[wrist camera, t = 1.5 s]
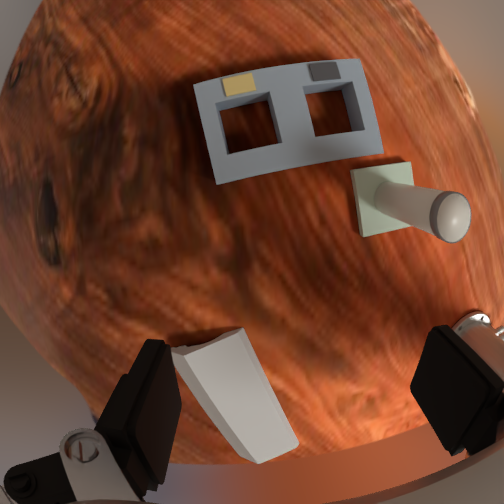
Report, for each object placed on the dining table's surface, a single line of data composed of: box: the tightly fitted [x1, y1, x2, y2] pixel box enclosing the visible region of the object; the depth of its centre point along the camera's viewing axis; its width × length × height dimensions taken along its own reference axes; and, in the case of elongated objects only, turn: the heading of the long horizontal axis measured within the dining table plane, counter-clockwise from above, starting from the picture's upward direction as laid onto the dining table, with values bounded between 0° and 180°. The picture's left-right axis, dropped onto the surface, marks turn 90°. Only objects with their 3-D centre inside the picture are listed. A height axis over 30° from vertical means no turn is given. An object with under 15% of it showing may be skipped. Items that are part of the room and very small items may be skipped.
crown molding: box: [171, 328, 299, 464], centre depth 40 cm, size 29×12×4 cm, turn 21°
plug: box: [374, 182, 471, 243], centre depth 25 cm, size 4×4×13 cm
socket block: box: [193, 59, 384, 185], centre depth 28 cm, size 18×11×4 cm, turn 103°
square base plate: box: [350, 162, 414, 237], centre depth 32 cm, size 8×8×1 cm
